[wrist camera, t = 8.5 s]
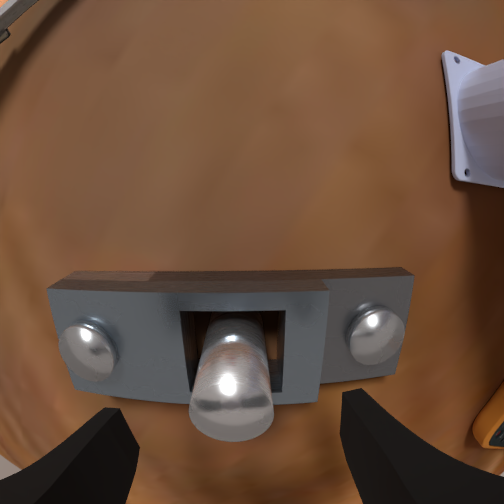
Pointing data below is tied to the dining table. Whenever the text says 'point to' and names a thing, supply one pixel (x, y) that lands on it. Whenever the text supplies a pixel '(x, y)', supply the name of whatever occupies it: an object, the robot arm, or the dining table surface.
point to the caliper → (12, 14)
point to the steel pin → (233, 379)
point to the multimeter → (491, 422)
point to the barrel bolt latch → (228, 299)
